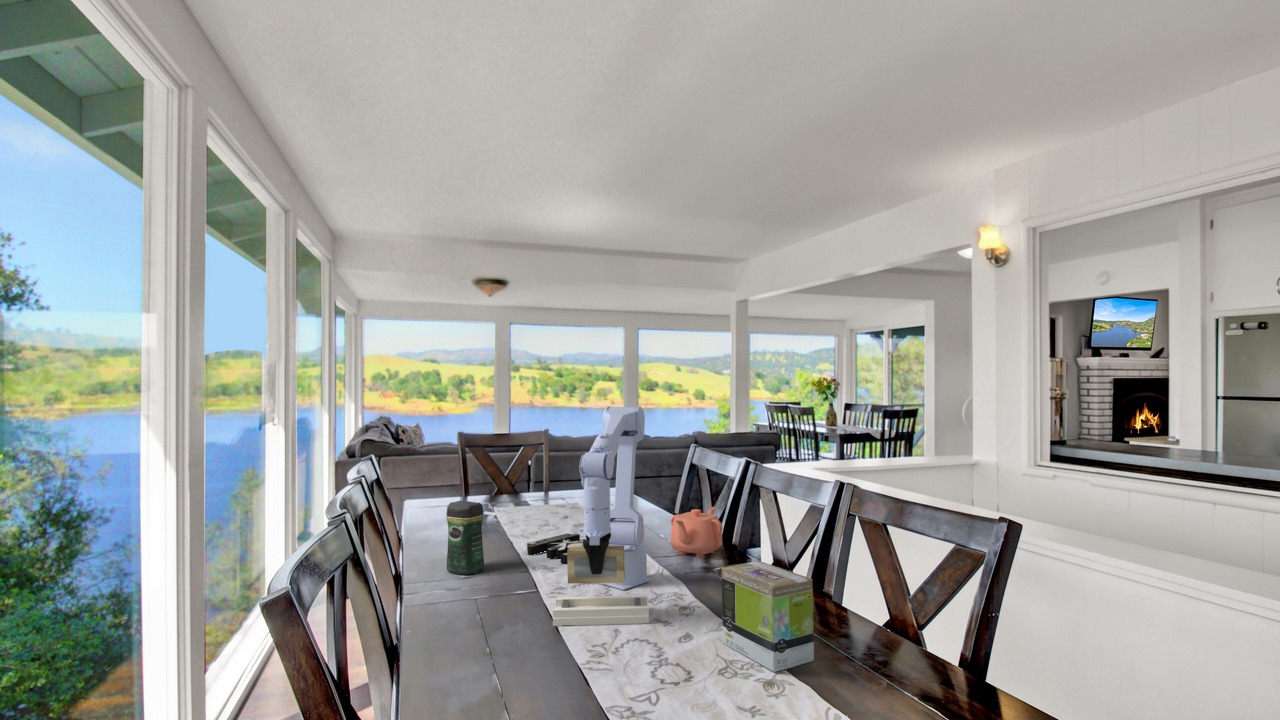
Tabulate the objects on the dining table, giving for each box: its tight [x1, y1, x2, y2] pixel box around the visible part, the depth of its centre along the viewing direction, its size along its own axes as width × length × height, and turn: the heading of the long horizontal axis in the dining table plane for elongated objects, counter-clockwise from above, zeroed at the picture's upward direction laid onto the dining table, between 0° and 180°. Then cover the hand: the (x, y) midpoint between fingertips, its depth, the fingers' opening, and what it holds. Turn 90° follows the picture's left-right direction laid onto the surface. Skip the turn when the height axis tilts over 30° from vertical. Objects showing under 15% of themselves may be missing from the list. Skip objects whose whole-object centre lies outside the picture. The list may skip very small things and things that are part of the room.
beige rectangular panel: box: [567, 545, 625, 584], centre depth 138 cm, size 4×12×7 cm, turn 88°
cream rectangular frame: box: [552, 594, 650, 627], centre depth 137 cm, size 20×9×3 cm, turn 92°
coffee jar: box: [446, 500, 485, 575], centre depth 172 cm, size 10×8×19 cm
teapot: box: [670, 506, 724, 559], centre depth 186 cm, size 15×17×13 cm
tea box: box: [721, 560, 815, 673], centre depth 118 cm, size 15×10×15 cm, turn 30°
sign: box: [526, 533, 587, 565], centre depth 185 cm, size 19×3×30 cm
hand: (597, 570), depth 138 cm, fingers closed on beige rectangular panel, 4 cm apart
